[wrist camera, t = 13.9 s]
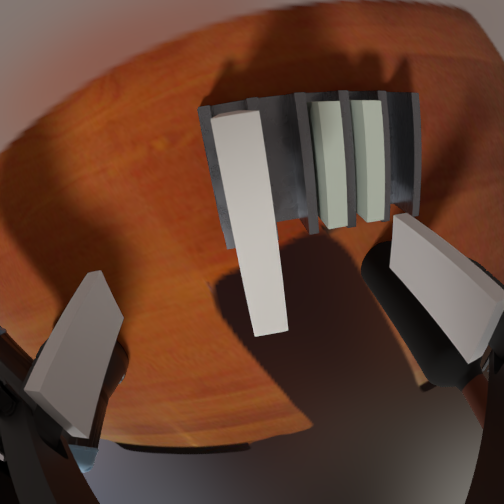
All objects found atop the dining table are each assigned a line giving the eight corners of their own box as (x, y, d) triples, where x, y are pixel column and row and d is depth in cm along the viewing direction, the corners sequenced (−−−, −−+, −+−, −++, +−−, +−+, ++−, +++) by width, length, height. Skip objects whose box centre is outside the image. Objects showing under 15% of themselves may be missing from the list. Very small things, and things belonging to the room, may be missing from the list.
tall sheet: (239, 220, 32) (254, 336, 16) (219, 113, 26) (210, 118, 11) (256, 216, 32) (288, 330, 16) (238, 110, 26) (259, 110, 11)
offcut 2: (345, 202, 32) (367, 222, 27) (337, 100, 26) (362, 100, 21) (360, 200, 32) (384, 219, 27) (354, 99, 26) (380, 100, 21)
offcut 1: (311, 207, 32) (328, 229, 27) (300, 102, 26) (318, 102, 21) (328, 205, 32) (347, 225, 27) (318, 101, 26) (339, 100, 21)
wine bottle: (363, 244, 37) (498, 436, 11) (407, 237, 37) (546, 394, 11) (358, 289, 41) (456, 470, 14) (400, 280, 41) (506, 435, 15)
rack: (222, 226, 34) (222, 250, 29) (198, 108, 27) (192, 108, 22) (396, 198, 34) (421, 215, 29) (393, 92, 27) (422, 93, 22)
